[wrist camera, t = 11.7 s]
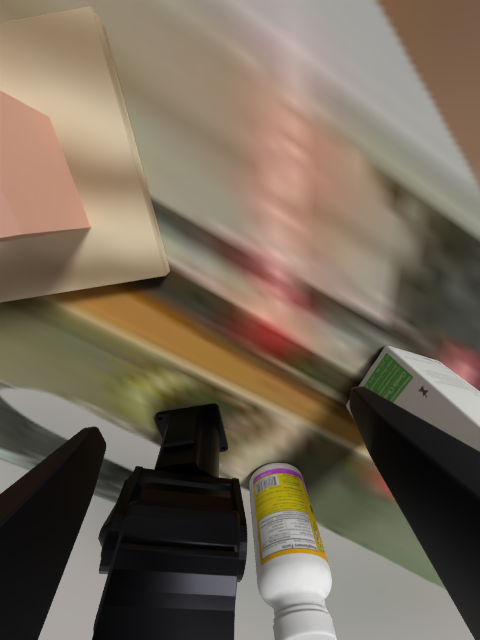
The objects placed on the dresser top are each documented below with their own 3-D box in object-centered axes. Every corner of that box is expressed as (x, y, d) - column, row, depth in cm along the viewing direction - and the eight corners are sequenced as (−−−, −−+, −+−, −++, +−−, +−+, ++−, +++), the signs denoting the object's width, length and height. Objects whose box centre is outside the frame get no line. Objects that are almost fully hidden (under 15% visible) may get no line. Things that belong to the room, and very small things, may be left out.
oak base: (170, 271, 19) (165, 275, 18) (-1, 299, 20) (-18, 305, 18) (104, 26, 14) (90, 5, 12) (-135, 69, 14) (-175, 54, 13)
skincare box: (384, 342, 23) (641, 551, 9) (440, 360, 24) (749, 571, 10) (342, 408, 26) (481, 642, 12) (394, 420, 27) (577, 649, 13)
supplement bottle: (290, 497, 32) (327, 663, 20) (242, 491, 31) (251, 662, 19) (310, 463, 29) (365, 630, 18) (258, 455, 28) (280, 626, 17)
